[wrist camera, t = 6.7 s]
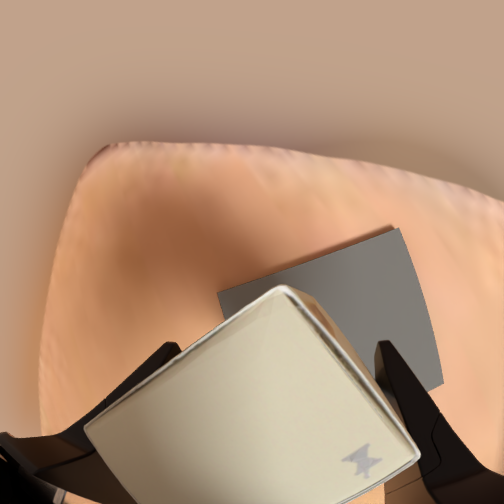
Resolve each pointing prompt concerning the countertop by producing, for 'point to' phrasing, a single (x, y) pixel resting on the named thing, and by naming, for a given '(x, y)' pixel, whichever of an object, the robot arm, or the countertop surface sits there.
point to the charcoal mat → (362, 300)
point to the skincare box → (257, 416)
